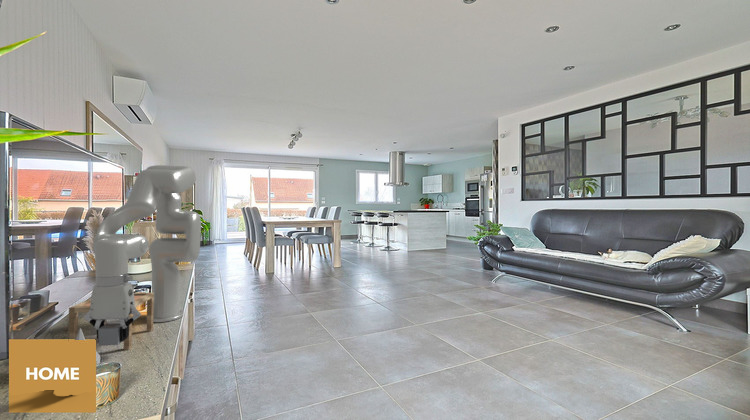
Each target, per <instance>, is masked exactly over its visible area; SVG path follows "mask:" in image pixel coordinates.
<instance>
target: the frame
mask: <svg viewBox="0 0 750 420" xmlns="http://www.w3.org/2000/svg"><path fill="white" fill-rule="evenodd" d="M134 296H142V297H141V298H139V299H137V300H135V308H136V309H137V308H138V307H139V306H141V305H143V304H144V303H146V332H147V333H149V332H148V331H151V332H153V331H154V322H153V309H154V293H152V292H134ZM90 302H91V297H90V298H89V299H87V300H86V299H85V301H84V300H83V301H82V302H79V303H77V304H75V305H73V306H70V307H69V308H68V340H69V339H76V337H77V334H78V332H79V326H78V325H79V314H80V313H81V314H82V313H87V312H88V311H89V310H90V306H84V305H86V304H88V303H90ZM131 317H133V315H132V314H129V319H130V318H131ZM106 323H107V320H106V321H105V324H106ZM105 324H104V325H105ZM152 330H153V331H152ZM132 337H133V322H132V323H131V324H130V325H129V336H128V338H127V339H125V340H124V341H123V350H124V351H126V350H131V348H132V343H133V341H132V340H133V338H132Z"/></svg>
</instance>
